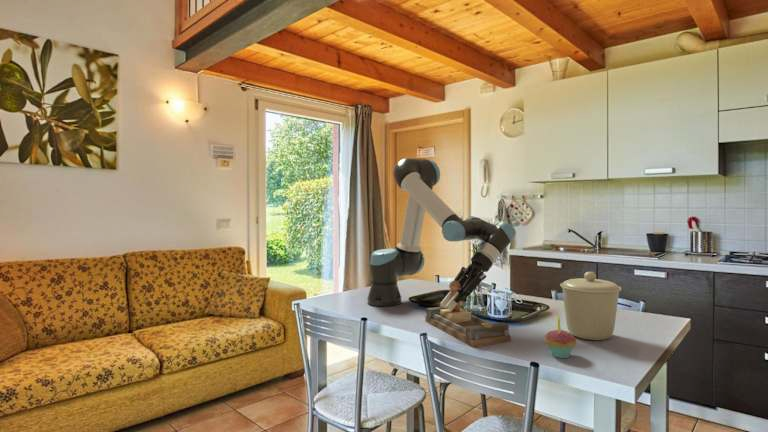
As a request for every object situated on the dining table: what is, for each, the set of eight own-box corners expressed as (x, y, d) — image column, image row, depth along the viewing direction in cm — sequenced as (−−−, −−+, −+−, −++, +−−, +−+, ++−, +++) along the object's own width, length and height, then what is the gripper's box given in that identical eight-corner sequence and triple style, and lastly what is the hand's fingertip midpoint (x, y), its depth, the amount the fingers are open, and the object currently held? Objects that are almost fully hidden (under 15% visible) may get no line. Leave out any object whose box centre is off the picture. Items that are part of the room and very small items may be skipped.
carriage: (440, 317, 159) (439, 279, 159) (459, 315, 162) (458, 277, 162) (451, 323, 152) (451, 283, 151) (471, 320, 155) (470, 281, 154)
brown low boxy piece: (425, 321, 164) (425, 306, 163) (457, 316, 169) (457, 302, 169) (472, 347, 134) (472, 329, 134) (510, 341, 139) (510, 323, 139)
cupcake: (573, 362, 120) (573, 319, 120) (541, 357, 125) (541, 315, 124) (578, 353, 127) (578, 312, 127) (547, 348, 132) (547, 308, 132)
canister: (551, 336, 143) (551, 272, 142) (571, 324, 156) (571, 266, 155) (611, 348, 131) (611, 278, 130) (628, 334, 144) (628, 271, 143)
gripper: (504, 267, 154) (464, 319, 149) (478, 261, 169) (441, 308, 164) (492, 253, 152) (450, 305, 147) (466, 248, 167) (428, 295, 162)
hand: (445, 307), depth 155 cm, fingers closed on carriage, 3 cm apart
